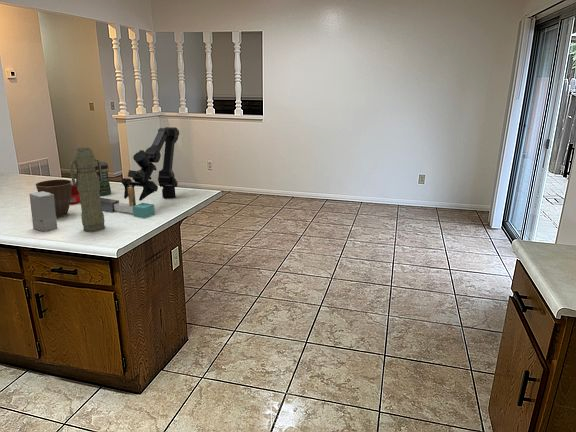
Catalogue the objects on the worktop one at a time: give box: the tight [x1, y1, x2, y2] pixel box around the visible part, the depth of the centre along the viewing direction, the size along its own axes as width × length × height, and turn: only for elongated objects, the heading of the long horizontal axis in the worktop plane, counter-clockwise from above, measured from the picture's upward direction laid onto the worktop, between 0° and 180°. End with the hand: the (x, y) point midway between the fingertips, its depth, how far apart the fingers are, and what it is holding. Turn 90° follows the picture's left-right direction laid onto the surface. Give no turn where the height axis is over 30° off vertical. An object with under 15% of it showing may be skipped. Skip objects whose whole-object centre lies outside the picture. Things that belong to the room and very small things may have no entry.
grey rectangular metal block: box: [100, 197, 120, 213], centre depth 212 cm, size 14×5×5 cm, turn 67°
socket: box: [132, 202, 156, 219], centre depth 203 cm, size 7×7×5 cm
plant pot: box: [35, 179, 72, 218], centre depth 201 cm, size 15×15×16 cm
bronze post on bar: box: [112, 186, 137, 214], centre depth 206 cm, size 22×3×13 cm, turn 67°
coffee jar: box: [95, 161, 112, 197], centre depth 239 cm, size 10×8×19 cm
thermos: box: [69, 147, 106, 233], centre depth 180 cm, size 9×12×35 cm
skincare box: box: [29, 191, 58, 232], centre depth 182 cm, size 8×7×16 cm
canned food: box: [69, 180, 81, 206], centre depth 223 cm, size 8×8×11 cm
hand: (132, 199), depth 204 cm, fingers open, 9 cm apart
